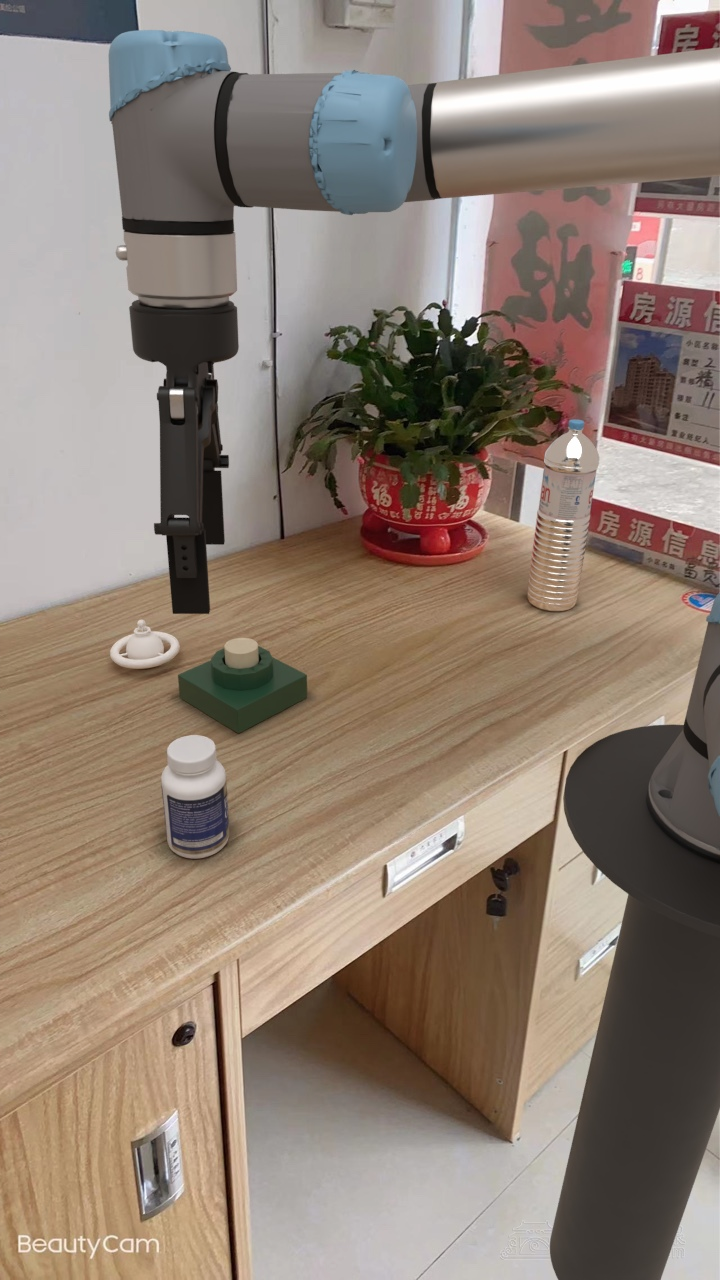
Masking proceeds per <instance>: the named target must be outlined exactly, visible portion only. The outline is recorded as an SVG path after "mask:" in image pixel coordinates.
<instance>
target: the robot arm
mask: <svg viewBox="0 0 720 1280" xmlns="http://www.w3.org/2000/svg"><path fill="white" fill-rule="evenodd" d="M231 70H232V67H231V65H230V64H229V57H228V50H227V47H226V45H225V44H224V42H223V40H221V39H220V38H218V37H217V36H213V35H210V34H206V33H200V32H194V31H185V30H184V31H183V30H174V31H172V30H168V31H166V30H164V29H163V30H162V29H139V30H138V29H137V30H129V31H125V32H122V33H120V34H118V35H117V36H115V38H114V39H113V40H112V41H111V44H110V46H109V48H108V77H109V79H108V80H109V81H108V82H109V104H110V108H109V111H108V119H109V122H111V125H112V135H113V143H114V152H115V153H114V154H115V161H116V162H115V163H116V172H117V179H118V190H119V199H120V208H121V224H122V225H121V226H122V230H123V242H124V244H120V245H117V247H116V250H115V256H116V258H117V259H118V260H119V261H121V262H123V261H127V265H126V268H125V269H126V281H127V290H128V291H129V292H130V294H132V295H134V296H136V297H137V299H136V300H134V301H132V303H131V305H130V306H129V307H128V312H129V320H130V321H129V322H130V332H131V343H132V351H133V353H134V354H135V356H136V357H137V358H139V359H140V360H143V361H146V362H151V363H160V364H162V365H164V366H165V368H166V373H165V378H163V383H162V384H163V385H159V386H158V390H157V392H156V401H157V402H158V416H159V475H160V476H159V482H160V483H159V486H160V487H159V490H160V491H159V493H160V494H159V495H160V496H159V497H160V501H159V503H160V511H159V512H160V522H154V523H153V531H154V535H157V536H158V535H160V536H165V537H166V538H165V539H166V549H167V550H166V551H167V552H166V553H167V563H168V574H169V586H170V597H171V598H170V599H171V610H172V614H173V615H209V614H210V613H211V601H210V585H209V584H210V583H209V582H210V581H209V569H208V567H209V566H208V553H207V551H208V550H207V546H209V545H212V546H214V545H217V546H220V545H222V546H223V545H225V521H224V519H225V518H224V501H223V499H224V498H223V483H222V482H223V480H222V479H223V477H222V470H216V469H229V468H230V456H229V454H222V451H224V446H223V444H222V438H221V429H220V421H219V419H220V418H219V403H218V401H219V381H218V379H215V369H214V368H215V367H214V365H215V364H217V363H221V362H225V361H228V360H230V359H232V358H234V357H235V356H237V354H238V353H239V347H240V345H239V324H238V323H239V322H238V321H239V319H238V307H237V306H236V305H235V303H234V302H233V301H231V300H230V297H232V295H234V294H235V293H237V291H238V273H237V271H238V270H237V247H236V246H237V245H236V242H237V241H236V232H235V221H234V217H235V216H234V215H235V213H234V212H235V211H234V210H235V207H237V208H247V209H249V208H254V207H255V208H269V209H281V210H297V211H312V212H313V211H315V212H335V213H336V212H337V213H340V214H343V215H345V216H346V215H347V216H354V215H366V214H369V213H392V212H393V211H396V210H398V209H399V208H400V207H402V205H404V203H412V202H413V203H414V202H424V201H425V202H426V201H434V200H440V199H451V198H452V199H454V198H464V197H467V198H468V197H477V196H489V195H490V196H493V195H502V194H503V195H504V194H515V193H528V192H540V191H552V190H553V191H555V190H567V189H577V188H591V187H603V186H615V185H627V184H641V183H652V182H653V183H654V182H666V181H677V180H679V181H680V180H690V179H691V180H692V179H705V178H715V177H720V47H713V48H704V49H695V50H688V51H680V52H672V53H671V52H670V53H664V54H663V53H662V54H656V55H647V56H639V57H632V58H623V59H615V60H607V61H598V62H591V63H581V64H573V65H566V66H559V67H558V66H557V67H550V68H549V67H548V68H541V69H534V70H525V71H516V72H510V73H500V74H493V75H484V76H477V77H469V78H468V77H467V78H461V79H453V80H445V81H437V82H430V83H416V84H415V83H414V84H407V83H406V82H405V81H404V80H403V79H402V78H400V77H399V76H397V75H391V74H375V73H373V74H372V73H369V72H360V71H359V70H356V69H354V70H343V71H342V72H314V73H313V72H311V73H310V72H309V73H307V72H306V73H305V72H304V73H303V72H302V73H252V74H251V73H248V72H238V71H231ZM175 516H177V517H175ZM178 516H186V517H178ZM705 622H707V625H706V629H705V633H704V636H703V637H704V638H703V641H702V646H701V650H700V656H699V659H698V663H697V668H696V672H695V675H694V680H693V684H692V688H691V693H690V696H689V701H688V705H687V709H686V712H685V718H684V721H683V725H684V726H683V729H682V732H681V733H680V734H679V736H678V737H677V739H676V740H675V742H674V743H673V744H672V746H671V747H670V749H669V750H668V751H667V753H666V754H665V756H664V757H663V758H662V760H661V761H660V763H659V764H658V765H657V767H656V768H655V770H654V772H653V774H652V776H651V778H650V782H649V787H648V791H647V798H646V801H647V806H648V810H649V812H650V815H651V816H652V818H653V820H654V821H655V823H656V824H657V825H658V826H659V828H660V829H661V830H662V831H663V832H664V833H665V834H666V835H667V836H669V837H670V838H671V839H672V840H674V841H675V842H676V843H678V844H679V845H681V846H682V847H684V848H686V849H687V850H689V851H691V852H693V853H695V854H697V855H699V856H701V857H703V858H706V859H708V860H711V861H713V862H716V863H719V864H720V592H718V594H717V595H716V596H715V598H714V600H713V602H712V606H711V609H710V612H709V614H708V615H707V616H706V619H705Z"/></svg>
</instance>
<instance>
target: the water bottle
mask: <svg viewBox="0 0 720 1280" xmlns="http://www.w3.org/2000/svg"><path fill="white" fill-rule="evenodd" d="M567 428H568V431H567V432H565V433H563V434H562V435H560V436H558V437H557V438H556V439H554V441H552V443H550V445H548V447H547V448H546V449H545V451H544V458H543V473H542V481H541V488H540V494H539V502H538V509H537V512H536V518H535V519H536V520H535V530H534V537H533V543H532V552H531V561H530V568H529V574H528V581H527V582H528V584H527V592H526V593H527V595H526V596H527V599H528V602H529V604H531V605H532V606H533V607H535V608H537V609H540V610H543V611H547V612H565V611H569V610H571V609H573V608H574V607H575V606H576V605H577V604H576V603H577V601H578V597H579V591H580V585H581V578H582V572H583V565H584V559H585V553H586V546H587V541H588V540H587V539H588V535H589V534H588V533H589V527H590V520H591V511H592V510H591V509H592V504H593V503H592V502H593V496H594V491H595V485H596V484H595V483H596V476H597V470H598V469H599V465H600V464H599V463H600V454H599V452H598V449H597V448H596V446H595V444H594V443H593V442H592V440H591V439H590V438H589V437H588V436H587V435H585V434H584V433H583V430H584V428H585V421H584V420H582V419H577V418H576V419H575V418H574V419H569V421H568V427H567Z"/></svg>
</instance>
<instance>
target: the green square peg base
mask: <svg viewBox="0 0 720 1280" xmlns="http://www.w3.org/2000/svg"><path fill="white" fill-rule="evenodd" d="M258 656H259V662H258V664H257V665H255V666H253V667H250V668H243V669H238V668H230V667H228V666H227V665H226V664H225V649H224V647H223V648H221V649H219V650H217V651H215V653H213V655H212V657H211V658H210V660H208V661H206V662H203V663H201V664H199V665H197V666H195V667H192V668H190V669H188V670H185V671H183V672H180V673H179V674H177V681H178V693H179V694H178V695H179V699H181V700H183V701H184V702H186V703H188V704H189V705H191V706H192V707H194V708H196V709H197V710H199V711H201V712H202V713H204V714H206V715H207V716H209V717H210V718H212V719H213V720H215V721H216V722H218V723H220V724H222V725H224V726H225V727H227V728H228V729H230V730H231V731H233V732H235V733H236V734H241V733H242V732H243V733H244V732H245V731H246V730H249V729H250V728H252V727H254V726H257V725H258V724H260V723H262V722H263V721H265V720H268V719H269V718H271V717H274V716H275V715H277V714H280V713H281V712H283V711H285V710H287V709H288V708H291V707H292V706H294V705H296V704H298V703H300V702H302V701H303V700H306V699H307V698H308V675H307V674H306V673H305V672H302V671H300V670H298V669H296V668H294V667H292V666H291V665H289V664H287V663H285V662H283V661H281V660H279V659H277V658H276V657H273V656H272V654H271V652H270V651H269V650H267V649H266V648H264V647H262V646H260V645H258Z"/></svg>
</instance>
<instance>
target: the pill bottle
mask: <svg viewBox="0 0 720 1280" xmlns="http://www.w3.org/2000/svg"><path fill="white" fill-rule="evenodd" d="M166 757H167V765H166V766H165V767H164V768H163V770H162V773H161V776H160V783H161V784H160V785H161V786H160V787H161V797H162V804H163V814H164V815H163V816H164V824H165V834H166V841H167V846H168V847H169V849H170V850H171V851H172V852H173V853H175V854H176V855H177V856H179V857H182V858H186V859H192V860H193V859H194V860H195V859H196V860H197V859H204V858H208V857H210V856H213V855H215V854H217V853H218V852H220V851H221V850H223V848H224V847H225V846H226V845H227V843H228V842H229V838H230V819H229V817H230V816H229V803H228V786H227V785H228V783H227V773H226V770H225V767H224V765H223V764H222V763H221V762H220V761H219V760H217V757H218V755H217V746H216V744H215V742H214V740H213V739H211V738H210V737H207V736H204V735H199V734H190V735H185V736H184V735H183V736H181V737H178V738H176V739H174V740H173V741H172V742H170V743H169V745H168V746H167V748H166Z"/></svg>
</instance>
